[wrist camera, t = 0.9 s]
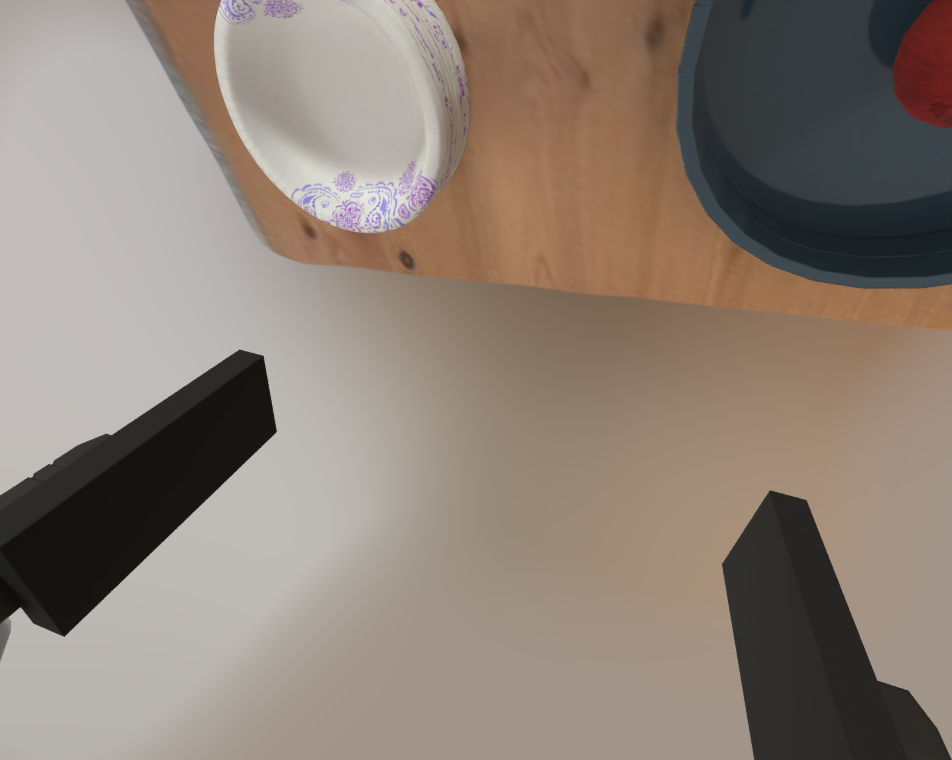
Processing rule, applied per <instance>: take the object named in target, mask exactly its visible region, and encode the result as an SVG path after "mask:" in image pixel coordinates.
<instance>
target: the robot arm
mask: <svg viewBox="0 0 952 760" xmlns="http://www.w3.org/2000/svg"><path fill="white" fill-rule="evenodd" d="M276 432H277V430H276V424H275V419H274V413H273V407H272V401H271V396H270V390H269V384H268V379H267V373H266V367H265V362H264V356H262V355H258V354H255V353H251V352H247V351H243V350H238V351H237V352H235V353H234V354H232V355H231V356H229V357H228V358H226V359H225V360H223V361H222V362H220V363H219V364H217V365H216V366H215V367H213V368H211V369H210V370H208V371H207V372H205V373H204V374H202V375H201V376H199V377H198V378H196V379H195V380H193V381H192V382H190V383H189V384H188V385H186V386H184V387H183V388H181V389H180V390H178V391H177V392H175V393H174V394H173V395H171V396H170V397H168V398H167V399H165V400H164V401H162V402H161V403H159V404H158V405H156V406H155V407H153V408H152V409H150V410H149V411H147V412H146V413H144V414H143V415H141V416H140V417H138V418H137V419H135V420H134V421H132V422H131V423H129V424H128V425H126V426H125V427H123V428H122V429H120V430H119V431H117V432H116V433H114V434H113V435H109V434H104V435H102V436H99V437H97V438H95V439H92V440H90V441H87V442H85V443H82V444H80V445H78V446H76V447H74V448H73V449H71V450H70V451H68V452H67V453H65V454H64V455H62V456H61V457H59V458H57V459H56V460H54V463H53V464H52V465H50V464H48V465H47V466H45V467H44V468H42V469H41V470H39V471H37V472H36V473H34V475H33V477H32V478H29V477H28V478H27V479H25V480H24V481H22V482H21V483H19V484H18V485H16V486H14V487H13V488H11V489H10V490H8V491H7V492H5V493H3V494H2V495H0V660H1V657H2V655H3V652H4V649H5V646H6V643H7V640H8V637H9V635H10V631H11V621H10V619H9V618H8V617H9V616H10V615H12V614H13V613H14V612H15V611H16V610H17V609H19V608H20V607H21V608H22V609H23V610H24V612H25V613H26V614H27V616H28V617H29V618H30V620H31V621H32V622H33V623H34V624H36V625H38V626H40V627H43V628H45V629H47V630H50V631H52V632H54V633H57V634H59V635H61V636H64V637H65V636H66V635H67V634H68V633H69V632H70V631H71V630H72V629H73V628H74V627H75V626H76V625H77V624H78V623H79V622H80V621H81V620H82V619H83V618H84V617H85V616H86V615H87V614H88V613H89V612H91V611H92V609H94V608H95V607H96V606H97V605H98V604H99V603H100V602H101V601H102V600H103V599H104V598H105V597H106V596H107V595H108V594H109V593H110V592H111V591H112V590H113V589H114V588H115V587H116V586H118V585H119V584H120V583H121V582H122V581H123V580H124V579H125V578H126V577H127V576H128V575H129V574H130V573H131V572H132V571H133V570H134V569H135V568H136V567H137V566H138V565H139V564H140V563H141V562H142V561H143V560H144V559H146V557H147V556H149V555H150V553H152V552H153V551H154V550H155V549H156V548H157V547H158V546H159V545H160V544H161V543H162V542H163V541H164V540H165V539H166V538H167V537H168V536H169V535H170V534H171V533H172V532H174V530H175V529H177V528H178V526H180V525H181V524H182V523H183V522H184V521H185V520H186V519H187V518H188V517H189V516H190V515H191V514H192V513H193V512H194V511H195V510H196V509H197V508H198V507H199V506H200V505H201V504H203V503H204V502H205V501H206V499H208V498H209V497H210V496H211V495H212V494H213V493H214V492H215V491H216V490H217V489H218V488H219V487H220V486H221V485H222V484H223V483H224V482H225V481H226V480H227V479H228V478H229V477H231V476H232V475H233V474H234V473H235V472H236V471H237V470H238V469H239V468H240V467H241V466H242V465H243V464H244V463H245V462H246V461H247V460H248V459H249V458H250V457H251V456H252V455H253V454H254V453H255V452H257V451H258V449H260V448H261V447H262V446H263V445H264V444H265V443H266V442H267V441H268V440H269V439H270V438H271V437H272V436H273V435H274V434H275V433H276ZM722 567H723V573H724V579H725V585H726V591H727V598H728V604H729V609H730V615H731V622H732V628H733V634H734V640H735V645H736V651H737V658H738V664H739V670H740V676H741V681H742V688H743V694H744V700H745V706H746V712H747V718H748V724H749V731H750V736H751V743H752V748H753V754H754V760H951V758H950V755H949V753H948V751H947V749H946V746H945V744H944V742H943V740H942V738H941V736H940V733H939V731H938V729H937V728H936V726H935V725H934V724H933V722H932V721H931V720H930V718H929V717H928V716H927V715H926V713H925V712H924V711H923V709H922V708H921V707H920V705H919V704H918V703H917V701H916V700H915V699H914V697H913V696H912V695H911V694H910V692H909V691H908V690H904V689H902V688H898V687H895V686H892V685H889V684H886V683H883V682H880V681H877V679H876V676H875V674H874V671H873V669H872V666H871V664H870V661H869V658H868V656H867V653H866V651H865V648H864V646H863V643H862V641H861V638H860V635H859V633H858V630H857V628H856V625H855V623H854V620H853V618H852V615H851V613H850V610H849V607H848V605H847V602H846V600H845V597H844V595H843V592H842V590H841V587H840V584H839V582H838V579H837V577H836V574H835V572H834V569H833V567H832V564H831V562H830V559H829V556H828V554H827V551H826V549H825V547H824V544H823V541H822V539H821V536H820V534H819V531H818V528H817V526H816V523H815V521H814V518H813V516H812V513H811V510H810V508H809V506H808V503H807V501H806V500H804V499H800V498H797V497H793V496H789V495H785V494H781V493H777V492H774V491H769V493H768V494H767V496H766V497H765V499H764V500H763V502H762V503H761V505H760V506H759V508H758V510H757V511H756V513H755V514H754V516H753V517H752V519H751V520H750V522H749V523H748V525H747V526H746V528H745V530H744V531H743V533H742V534H741V536H740V538H739V539H738V540H737V542H736V543H735V545H734V547H733V548H732V550H731V551H730V553H729V554H728V556H727V557H726V559H725V560H724V562H723V564H722Z"/></svg>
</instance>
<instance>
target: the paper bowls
mask: <svg viewBox="0 0 952 760" xmlns="http://www.w3.org/2000/svg"><path fill="white" fill-rule="evenodd" d="M214 55H215V64H216V71H217V76H218V81H219V85H220V89H221V92H222V95H223V98H224V101H225V104H226V107H227V110H228V112H229V115H230V117H231V119H232V122H233V124H234V126H235V128H236V130H237V132H238V134H239V136H240V137H241V139H242V141H243V143H244V145H245V146H246V148H247V149H248V151H249V152H250V154H251V155H252V157H253V158H254V160H255V161H256V163H257V164H258V165H259V167H260V168H261V169H262V170H263V172H264V173H265V174H266V175H267V176H268V178H269V179H270V180H271V181H272V182H273V183H274V184H275V185H276V186H277V187H278V188H279V189H280V190H281V191H282V192H283V193H284V194H285V195H286V196H287V197H289V198H290V199H291V200H292V201H293V202H295V203H296V204H297V205H298V206H300V207H301V208H302V209H304V210H305V211H307V212H308V213H310V214H311V215H313V216H315V217H317V218H318V219H320V220H322V221H324V222H326V223H328V224H331V225H333V226H336V227H339V228H342V229H345V230H349V231H354V232H359V233H360V232H361V233H379V232H385V231H390V230H394V229H396V228H399V227H402V226H404V225H405V224H407V223H409V222H411V221H412V220H414V219H415V218H416V217H417V216H419V215H420V214H421V213H422V212H423V211H424V210H425V209H426V208H427V207H428V206H429V204H430V203H431V202H432V201H433V199H434V198H435V197H436V196H437V194H438V193H439V192H440V191H441V190H442V188H443V187H444V186H445V184H446V183H447V182H448V180H449V179H450V178H451V177H452V175H453V174H454V172H455V171H456V169H457V167H458V166H459V163H460V161H461V158H462V156H463V154H464V151H465V147H466V144H467V139H468V134H469V128H470V119H471V102H470V91H469V84H468V78H467V74H466V71H465V65H464V62H463V59H462V55H461V52H460V49H459V46H458V44H457V41H456V39H455V37H454V35H453V33H452V31H451V28H450V26H449V24H448V22H447V20H446V18H445V15H444V14H443V12H442V11H441V9H440V8H439V7H438V5H437V4H436V3H435V2H434V0H221V2H220V6H219V9H218V12H217V17H216V23H215V31H214Z"/></svg>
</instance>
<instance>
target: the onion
mask: <svg viewBox="0 0 952 760" xmlns="http://www.w3.org/2000/svg"><path fill="white" fill-rule="evenodd" d="M892 73H893V81H894V90H895V96H896V97H897V99H898V100H899V102H900V103H901V105H902V106H903V108H904V109H905V111H906V112H907V114H909V115H910V116H911V117H913V118H914V119H917V120H919V121H922V122H924V123H927V124H929V125H932V126H934V127H937V128H952V0H933V1H932V2H930V3H929V4H928V5H927V6H926V8H925V9H924V10H923V11H922V13H921V14H920V15H919V16H918V18H917V19H916V20H915V21H914V23H913V24H912V25H911V26H910V28H909V29H908V30H907V31H906V33H905V34H904V37H903V39H902V42H901V45H900V47H899V50H898V53H897V55H896V58H895V61H894V64H893V70H892Z"/></svg>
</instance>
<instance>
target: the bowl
mask: <svg viewBox="0 0 952 760" xmlns="http://www.w3.org/2000/svg"><path fill="white" fill-rule="evenodd" d="M932 1H933V0H695V2H694V5H693V9H692V13H691V18H690V22H689V26H688V30H687V35H686V39H685V43H684V47H683V51H682V56H681V60H680V64H679V68H678V79H677V114H676V127H677V128H676V130H677V135H678V139H679V144H680V149H681V153H682V158H683V163H684V168H685V172H686V174H687V177H688V179H689V181H690V183H691V185H692V187H693V189H694V191H695V193H696V195H697V197H698V199H699V201H700V203H701V205H702V207H703V208H704V210H705V212H706V213H707V215H708V216H709V217H710V218H711V219H712V220H713V221H714V222H715V223H716V224H717V225H718V226H719V227H720V229H721V230H722V231H723V232H724V233H725V234H726V235H727V236H728V237H729V238H730V239H731V240H732V241H733V242H734V243H735V244H737V245H738V246H740V247H741V248H743V249H745V250H746V251H748V252H749V253H751V254H752V255H754V256H756V257H757V258H759V259H760V260H762V261H764V262H765V263H767V264H768V265H770V266H773V267H776V268H778V269H781V270H784V271H787V272H790V273H793V274H795V275H798V276H801V277H804V278H807V279H809V280H813V281H818V282H824V283H831V284H837V285H844V286H850V287H856V288H928V287H935V286H942V285H949V284H952V128H937V127H934V126H932V125H929V124H927V123H924V122H922V121H919V120H917V119H914V118H913V117H911V116H910V115H909V114H907V112H906V111H905V109H904V108H903V106H902V105H901V103H900V102H899V100H898V99H897V97H896V96H895V90H894V81H893V73H892V70H893V64H894V61H895V58H896V55H897V53H898V50H899V47H900V45H901V42H902V39H903V37H904V34H905V33H906V31H907V30H908V29H909V28H910V26H911V25H912V24H913V23H914V21H915V20H916V19H917V18H918V16H919V15H920V14H921V13H922V11H923V10H924V9H925V8H926V6H927V5H928V4H929V3H930V2H932Z"/></svg>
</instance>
